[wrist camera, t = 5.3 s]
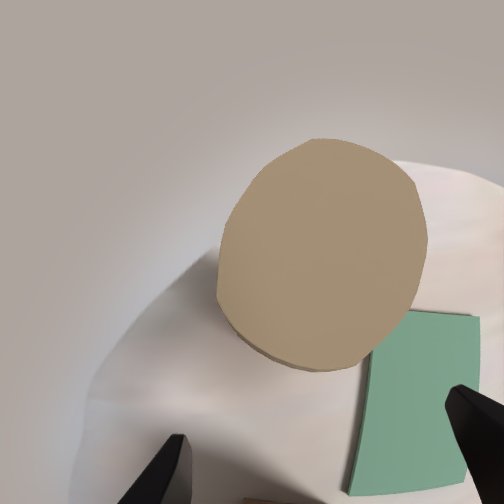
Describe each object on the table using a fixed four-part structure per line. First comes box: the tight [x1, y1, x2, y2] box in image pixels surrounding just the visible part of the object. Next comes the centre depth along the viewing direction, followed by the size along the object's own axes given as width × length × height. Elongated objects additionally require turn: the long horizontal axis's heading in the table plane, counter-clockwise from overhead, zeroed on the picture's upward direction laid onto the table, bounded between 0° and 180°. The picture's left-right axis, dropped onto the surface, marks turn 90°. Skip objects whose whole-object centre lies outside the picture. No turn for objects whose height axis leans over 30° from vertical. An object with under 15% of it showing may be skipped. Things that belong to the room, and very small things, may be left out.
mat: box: [347, 311, 480, 496], centre depth 17 cm, size 14×10×1 cm
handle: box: [216, 139, 428, 372], centre depth 14 cm, size 5×6×15 cm
